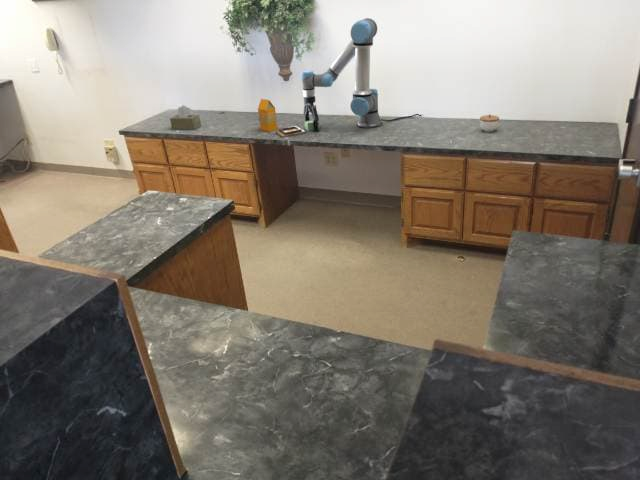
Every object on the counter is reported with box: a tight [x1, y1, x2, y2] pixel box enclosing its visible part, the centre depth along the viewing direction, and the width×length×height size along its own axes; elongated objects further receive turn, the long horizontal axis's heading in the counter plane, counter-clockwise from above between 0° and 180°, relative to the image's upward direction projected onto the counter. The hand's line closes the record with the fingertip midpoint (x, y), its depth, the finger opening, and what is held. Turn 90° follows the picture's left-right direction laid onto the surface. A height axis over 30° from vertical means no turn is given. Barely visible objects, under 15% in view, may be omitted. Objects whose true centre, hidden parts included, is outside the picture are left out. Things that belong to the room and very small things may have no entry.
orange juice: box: [257, 98, 278, 133], centre depth 337 cm, size 8×9×20 cm
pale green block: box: [304, 119, 321, 132], centre depth 333 cm, size 8×6×5 cm
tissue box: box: [169, 104, 202, 131], centre depth 359 cm, size 19×10×16 cm, turn 73°
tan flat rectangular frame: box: [275, 125, 306, 138], centre depth 330 cm, size 16×12×2 cm
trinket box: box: [479, 114, 500, 133], centre depth 299 cm, size 11×11×9 cm
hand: (311, 128), depth 335 cm, fingers open, 13 cm apart
